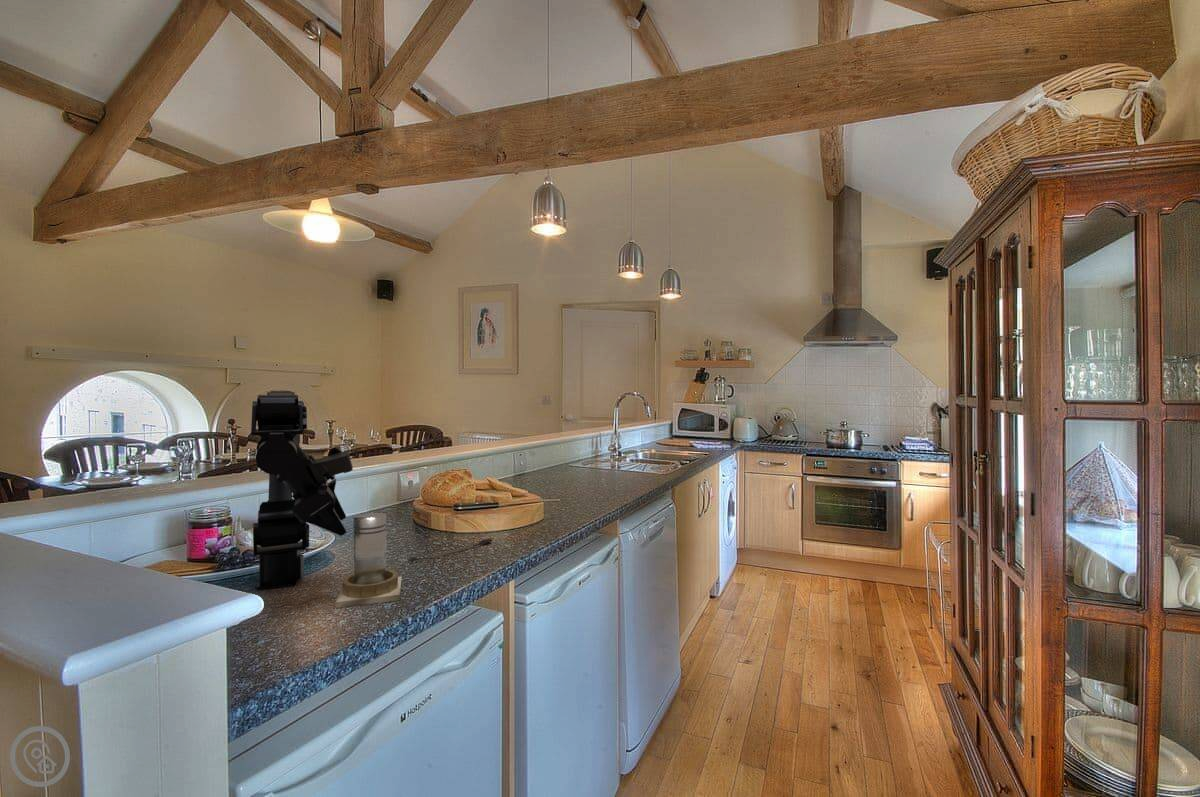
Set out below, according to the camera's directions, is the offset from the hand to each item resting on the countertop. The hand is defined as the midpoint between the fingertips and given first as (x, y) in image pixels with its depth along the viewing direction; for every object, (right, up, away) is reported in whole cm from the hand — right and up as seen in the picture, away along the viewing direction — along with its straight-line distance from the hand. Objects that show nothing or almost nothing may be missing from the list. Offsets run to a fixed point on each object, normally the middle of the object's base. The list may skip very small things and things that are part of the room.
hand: (344, 525), depth 99 cm
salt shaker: (+7, -10, -5) cm, 13 cm away
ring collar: (+7, -11, -5) cm, 14 cm away
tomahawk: (+16, -12, +20) cm, 28 cm away
